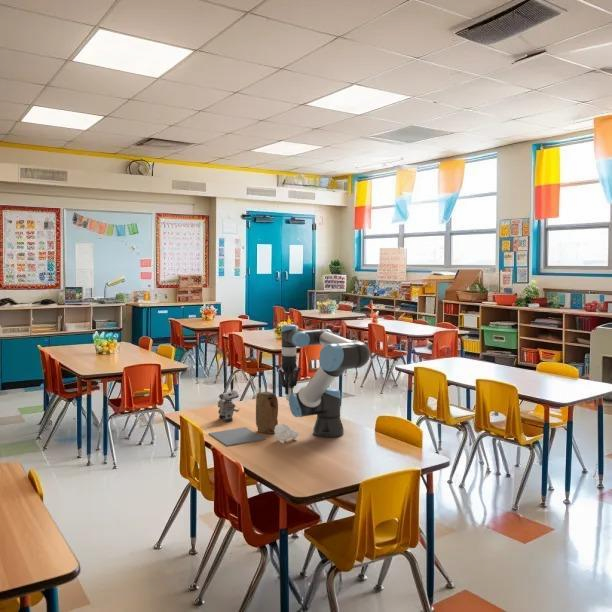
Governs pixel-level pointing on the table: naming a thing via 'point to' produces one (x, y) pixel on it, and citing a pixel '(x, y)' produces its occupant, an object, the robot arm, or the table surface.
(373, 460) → the table surface
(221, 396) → the figurine
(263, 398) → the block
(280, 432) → the white lumpy piece
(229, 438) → the mat
